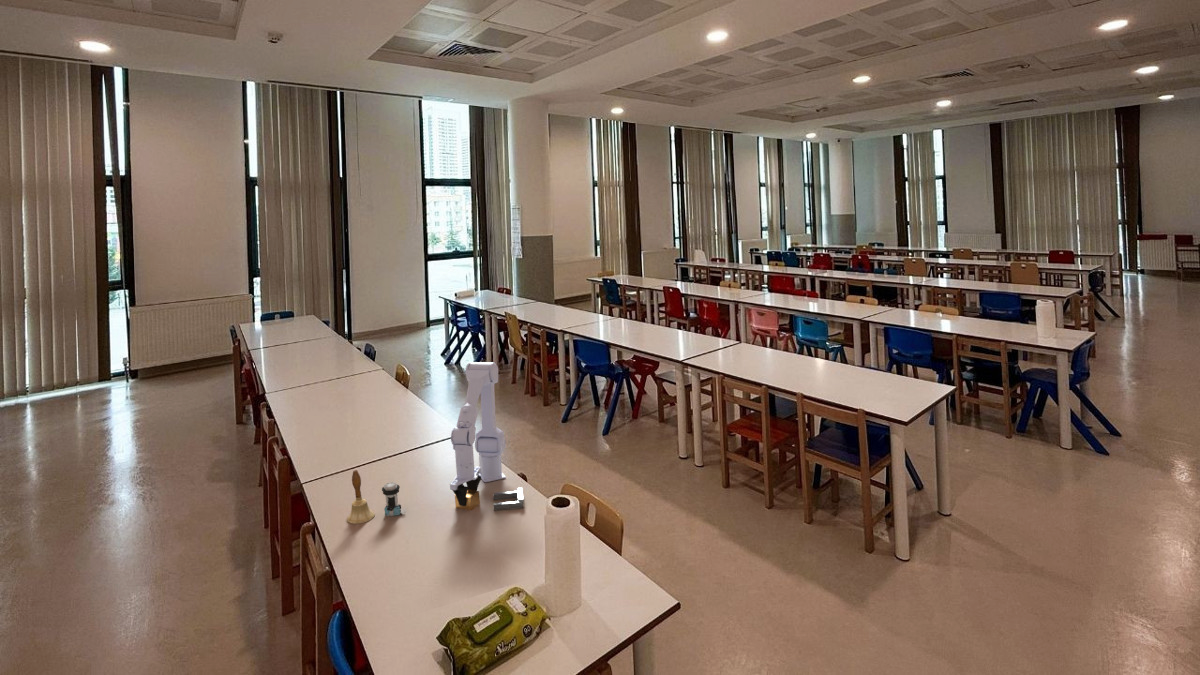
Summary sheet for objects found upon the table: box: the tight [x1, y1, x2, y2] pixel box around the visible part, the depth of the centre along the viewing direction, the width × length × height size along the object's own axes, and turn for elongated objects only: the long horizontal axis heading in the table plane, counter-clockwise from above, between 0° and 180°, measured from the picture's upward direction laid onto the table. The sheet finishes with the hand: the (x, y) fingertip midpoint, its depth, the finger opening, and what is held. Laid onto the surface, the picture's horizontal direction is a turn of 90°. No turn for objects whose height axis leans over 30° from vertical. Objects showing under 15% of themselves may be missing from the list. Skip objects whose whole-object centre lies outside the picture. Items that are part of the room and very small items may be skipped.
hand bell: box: [346, 469, 375, 525], centre depth 190 cm, size 8×8×16 cm
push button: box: [381, 482, 406, 517], centre depth 193 cm, size 7×5×10 cm
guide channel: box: [493, 487, 524, 511], centre depth 199 cm, size 10×9×3 cm
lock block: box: [454, 489, 481, 511], centre depth 198 cm, size 6×5×4 cm
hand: (467, 501), depth 198 cm, fingers closed on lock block, 5 cm apart
